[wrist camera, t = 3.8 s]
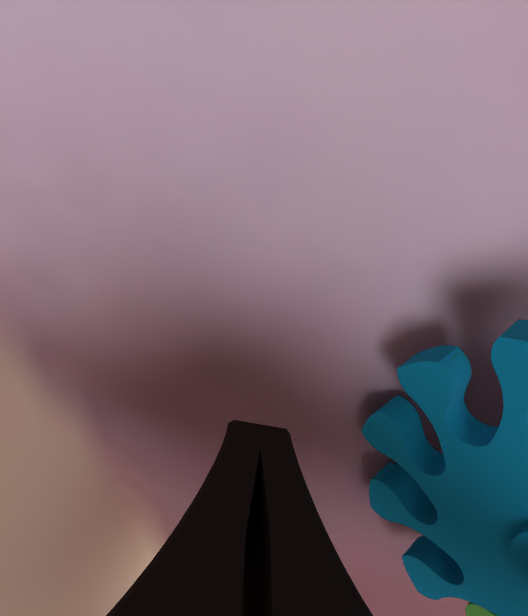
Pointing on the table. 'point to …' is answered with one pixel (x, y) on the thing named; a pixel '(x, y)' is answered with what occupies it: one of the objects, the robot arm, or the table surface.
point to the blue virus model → (459, 478)
